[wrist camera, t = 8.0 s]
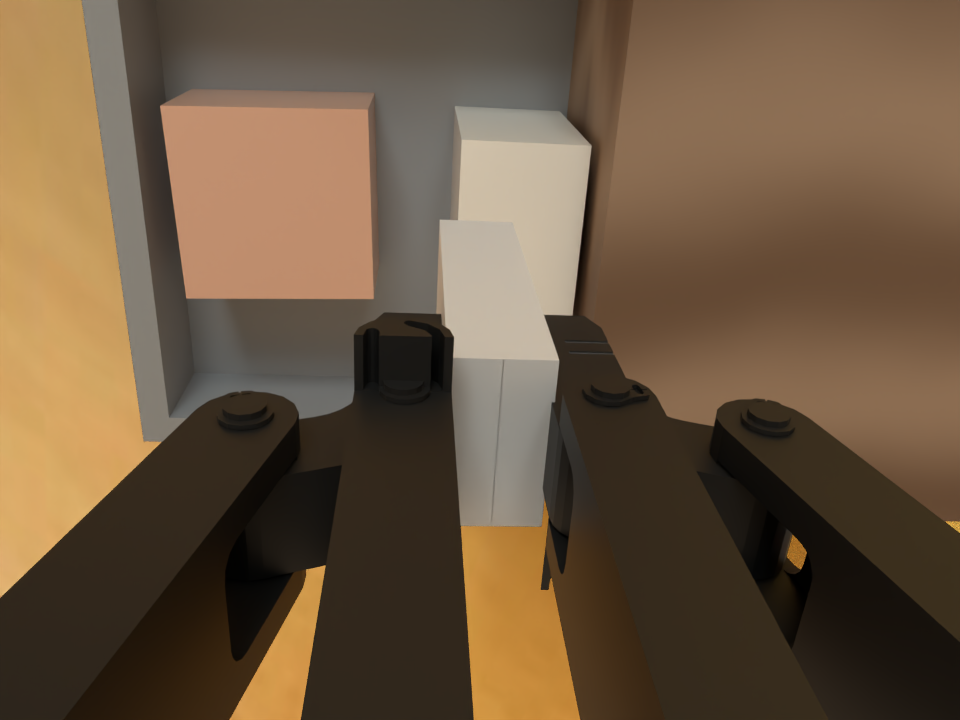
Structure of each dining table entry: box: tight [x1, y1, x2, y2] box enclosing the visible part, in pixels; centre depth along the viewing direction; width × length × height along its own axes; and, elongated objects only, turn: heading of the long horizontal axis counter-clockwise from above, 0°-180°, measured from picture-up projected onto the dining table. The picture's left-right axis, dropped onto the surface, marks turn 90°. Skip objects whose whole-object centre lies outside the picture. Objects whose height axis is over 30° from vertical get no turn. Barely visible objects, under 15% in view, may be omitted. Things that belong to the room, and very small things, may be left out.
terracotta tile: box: [160, 89, 379, 299], centre depth 22 cm, size 5×5×3 cm
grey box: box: [82, 0, 578, 442], centre depth 23 cm, size 14×12×4 cm
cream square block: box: [450, 106, 592, 316], centre depth 22 cm, size 5×5×3 cm
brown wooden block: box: [567, 0, 960, 521], centre depth 22 cm, size 14×13×7 cm
